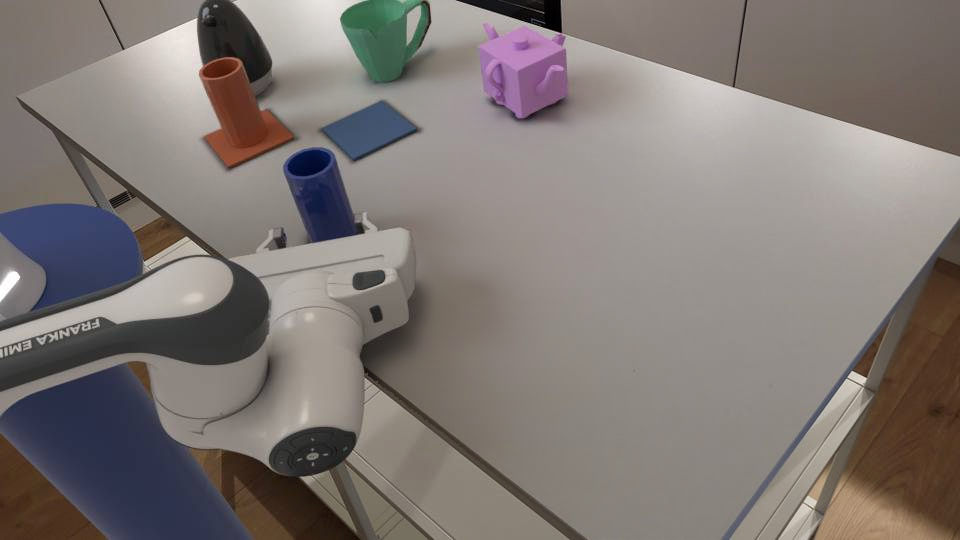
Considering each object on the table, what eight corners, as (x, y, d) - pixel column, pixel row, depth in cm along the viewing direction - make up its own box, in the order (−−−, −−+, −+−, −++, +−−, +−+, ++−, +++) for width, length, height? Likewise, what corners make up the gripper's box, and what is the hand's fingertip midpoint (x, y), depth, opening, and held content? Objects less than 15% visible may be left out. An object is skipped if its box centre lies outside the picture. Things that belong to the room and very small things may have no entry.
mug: (379, 98, 112) (363, 36, 105) (343, 76, 118) (327, 16, 111) (455, 58, 118) (445, -4, 111) (417, 39, 124) (406, -20, 117)
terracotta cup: (236, 153, 106) (207, 84, 98) (222, 136, 110) (192, 68, 102) (274, 136, 108) (248, 67, 100) (258, 120, 112) (232, 52, 104)
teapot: (607, 106, 104) (607, 40, 97) (530, 145, 99) (524, 79, 93) (529, 59, 115) (524, -3, 108) (457, 92, 111) (447, 30, 104)
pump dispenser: (207, 112, 116) (166, 19, 105) (225, 76, 123) (189, -14, 113) (271, 106, 115) (236, 11, 104) (286, 70, 122) (254, -21, 111)
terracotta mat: (228, 168, 104) (227, 166, 104) (204, 138, 111) (203, 136, 110) (294, 139, 107) (293, 136, 107) (267, 111, 114) (266, 108, 114)
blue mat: (354, 161, 102) (353, 158, 102) (322, 130, 108) (321, 128, 108) (416, 130, 105) (416, 128, 105) (382, 102, 112) (381, 100, 111)
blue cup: (323, 259, 88) (296, 186, 81) (303, 234, 92) (274, 162, 84) (366, 237, 90) (343, 163, 83) (344, 213, 94) (321, 140, 86)
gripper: (223, 355, 76) (237, 262, 86) (424, 319, 76) (415, 229, 86) (199, 314, 71) (216, 220, 81) (412, 275, 71) (404, 186, 81)
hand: (320, 224), depth 83 cm, fingers open, 8 cm apart
